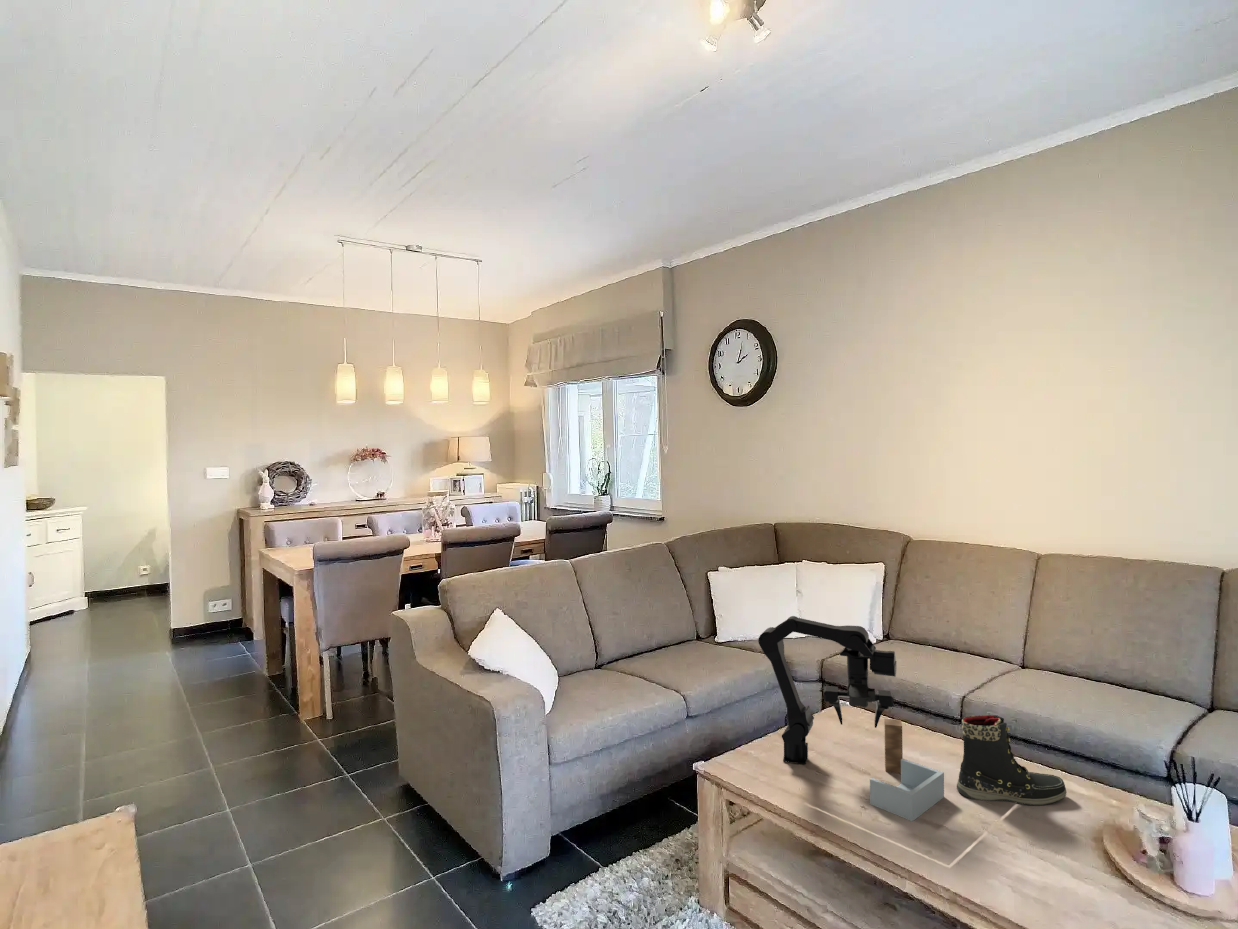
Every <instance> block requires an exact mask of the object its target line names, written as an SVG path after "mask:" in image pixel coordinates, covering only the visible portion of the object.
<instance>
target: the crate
mask: <svg viewBox="0 0 1238 929" xmlns="http://www.w3.org/2000/svg"><path fill="white" fill-rule="evenodd" d="M869 795H870V796H869V797H870V798H869V805H871V806H873V807H876V808H878V809H881V810H884V811H886V812H888V813H890V814H894V815H896V816H899V817H901V818H903V819H905V820H908V821H911V822H913V821H915V820H916V819H918V818H919V817H920V816H921V815H922V814H924V813H925V812H927V811H928V810H929V809H930V808H932V807H933V806H934V805H935V804H937V803H938V802H940V801H941V800H942V799H944V798H945V772H944V771H941V770H938V769H935V768H932V767H929V766H926V765H923V764H920V763H917V762H916V761H915V762H914V761H911V760H908V759H905V758H903V759H901V773H900V783H899V784H898V785H897V786H895V785H893V784H890V783H887V782H885V781H883V780H879V779H877V778H874V777H871V778H869Z"/></svg>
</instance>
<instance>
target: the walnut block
mask: <svg viewBox="0 0 1238 929" xmlns="http://www.w3.org/2000/svg"><path fill="white" fill-rule="evenodd" d="M883 720H884V767H885V768H884V770H885V772H886V773H893V774H894V773H895V774H896V773H897V774H901V759H904V758H903V724H902V720H901V719H893V718H892V719H891V718H883Z"/></svg>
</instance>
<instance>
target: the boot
mask: <svg viewBox="0 0 1238 929" xmlns="http://www.w3.org/2000/svg"><path fill="white" fill-rule="evenodd" d="M961 724H962V725H961V729H962V734H963V735H962V738H963V739H962V740H963V754H962V756H963V758H962V762H961V763H960V769H959V770H960V771H959V773H958V779H957V783H956V789H957V791H958V792H959V793H960V794H961V795H962V796H964V797H965V798H969V799H971V800H976V801H986V802H1008V803H1009V802H1011V803H1015V804H1018V805H1019V804H1020V805H1024V806H1045V805H1050V804H1054V803H1056V802H1059V801H1062V800H1063V799H1064V798H1065V797H1066V796H1067V794H1068V793H1067V788H1066V784H1065V781H1064V780H1063V779H1062V778H1061V776H1057V775H1054V774H1048V773H1039V772H1032V771H1029V770H1028V769H1027V767H1026V766H1024V765H1023V766H1022V765H1021V764H1019V763H1018V761H1017V760H1016V758H1015V757H1014V756H1015V755H1014V752H1012V746H1011V744H1010V743H1011V738H1010V734H1008V732H1009V731H1010V727H1008V726H1007V725H1008V723H1007V722H1005V718H1004V717H1001V716H998V715H997V714H996V715H995V714H982V715H968V716H965V717H963V718H962V719H961Z"/></svg>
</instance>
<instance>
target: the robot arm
mask: <svg viewBox="0 0 1238 929" xmlns="http://www.w3.org/2000/svg"><path fill="white" fill-rule="evenodd" d="M792 633H798V634H802V635H806V636H811V637H815V638H819V639H822V640H823V639H824V640H829V641H832V642H835V643H837V644H838V645H840V646H841V647H844V648H843V649H841V651H840V652H839V656H841V657H846V670H847V671H846V674H847V676H846V677H847V678H846V681H847V690H839V686H834V685H833V686H831V685H825V686H824V687H823V701H824V702H828V704H829V705H832V706H833V708H834V710H835V712H836V714H837V717H838V720H839V723H840V725H843V714H842V708H841V701H840V699H846V700H847V699H849V705H850V706H852V707H856V706H857V707H862V708H866V707H868V706H869V703H876V704H875V712H874V728H875V729H877V727H878V724H879V722H880V719H881V716H882V714H883V712H884V711H885V710H889V708H893V707H894V704H895V702H894V699H895V698H894V694H893V693H892V691H891V690H883V689H881V690H880V689H877V693H876V690H875V688H871V687H869V670H870V671H871V673H873V674H874V675H879V676H885V677H886V676H887V677H893V678H894V677H896V676H897V659H896V652H895V650H892V651H891V650H877V647H876V646H875V644H874V643H873V641H871V638H869V633H868V631H867V630H866V628H865V627H863V626H860V625H833V624H829V623H824V622H819V621H815V620H810V619H806V618H800V617H798V616H795V615H792V616H789V617H788V618H787V619H785V620H784V621H783V622H781V623H779V624H778V625H777V626H775V627H771V626H770V627H767V628H766V629H764V631H763V632H761V634H760V635H759V637H758V645H759V647H760V648H761V651H762V652H763V654H764V655H765V657H766V658H767V659H768V661H770V663H771V666H772V670H773V672H774V675H775V678H776V680H777V682H778V685H779V689H780V692H781V695H782V696H783V699H784V703H785V706H786V712H787V713H786V715H787V726H786V728H785V729H784V731H783V733H782V734H781V738H782V742H783V760H782V762H784V763H789V764H790V763H791V764H792V763H793V764H802V765H806V764H807V761H808V759H809V743H808V742H807V738H806V737H807V736H808V735H809V733H810V731H811V729H812V728H813V726H814V719H815V717H814V715H813V714H812V711H811V706H810V705H806V706H805V705H804V704H803V702H802V701H801V699H800V695H799V693H798V690H797V687H796V685H795V682H794V679H793V677H792V673H791V671H790V667H789V665H788V663H787V659H786V656H785V644H784V639H785V638H787V637H788V636H789V635H790V634H792Z"/></svg>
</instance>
